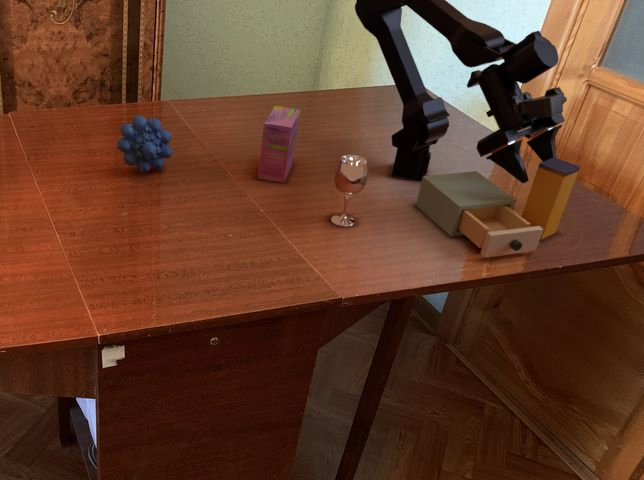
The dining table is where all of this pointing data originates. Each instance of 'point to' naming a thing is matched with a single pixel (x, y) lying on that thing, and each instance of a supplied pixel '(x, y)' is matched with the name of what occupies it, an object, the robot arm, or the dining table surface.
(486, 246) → the drawer
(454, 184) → the cabinet
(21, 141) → the dining table surface
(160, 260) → the dining table surface
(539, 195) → the carton
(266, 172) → the box
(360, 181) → the wineglass
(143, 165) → the blue knobby rounded piece
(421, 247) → the dining table surface
